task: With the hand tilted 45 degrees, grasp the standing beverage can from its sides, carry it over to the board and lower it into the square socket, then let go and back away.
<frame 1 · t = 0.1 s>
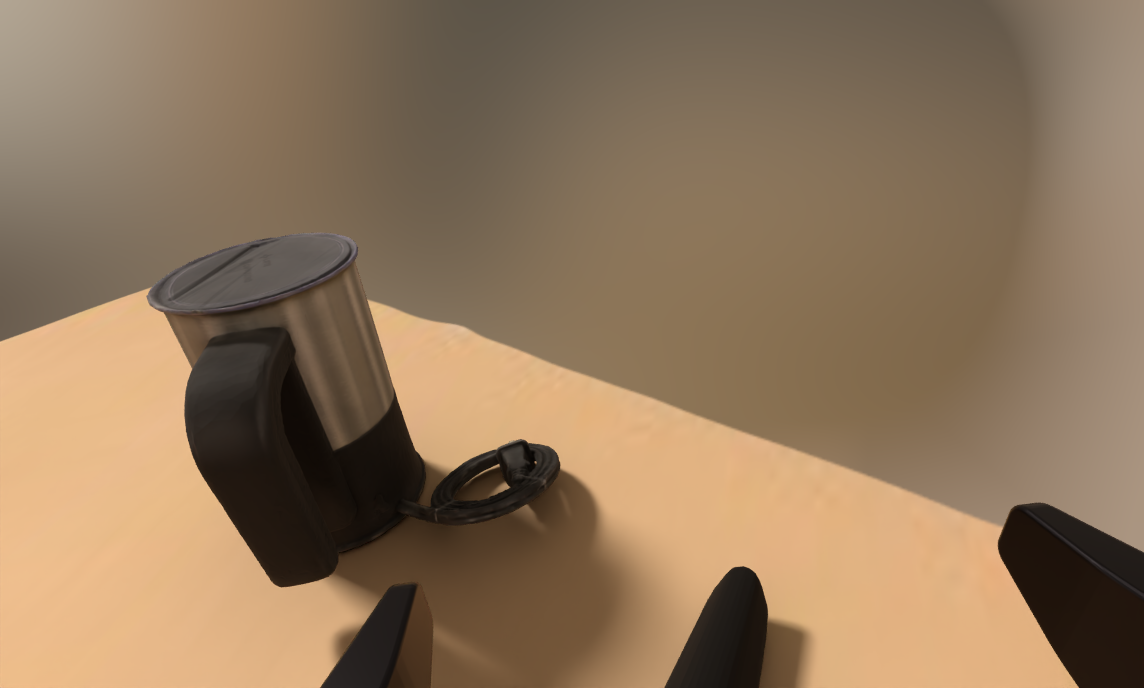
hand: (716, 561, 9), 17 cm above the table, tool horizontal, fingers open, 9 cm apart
milk frother: (414, 498, 34), on the table
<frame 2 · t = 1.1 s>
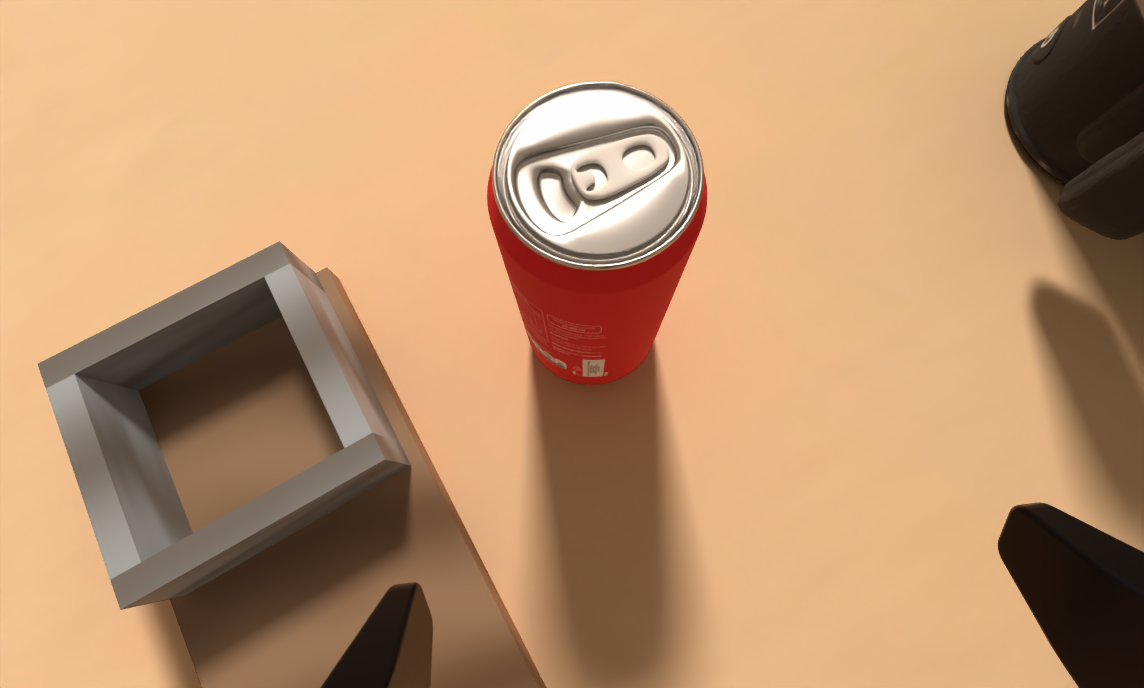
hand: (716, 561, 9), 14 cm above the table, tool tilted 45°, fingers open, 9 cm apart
beverage can: (590, 330, 25), on the table
socket board: (331, 563, 22), on the table
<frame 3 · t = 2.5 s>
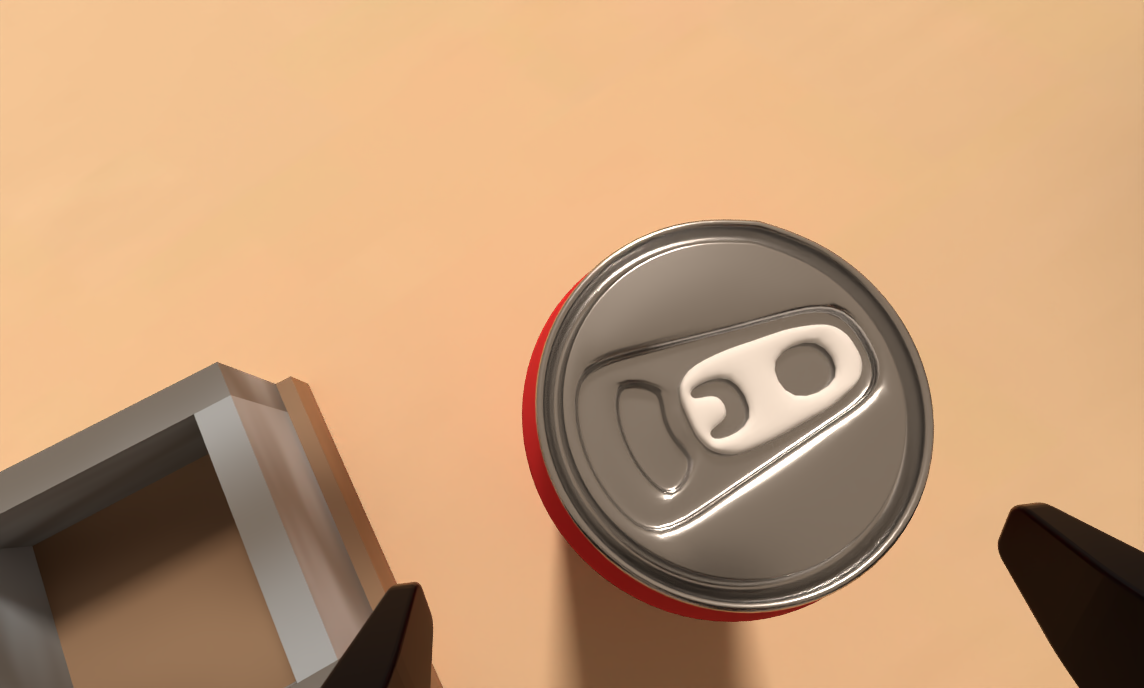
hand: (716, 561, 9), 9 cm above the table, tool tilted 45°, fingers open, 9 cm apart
beverage can: (638, 463, 19), on the table
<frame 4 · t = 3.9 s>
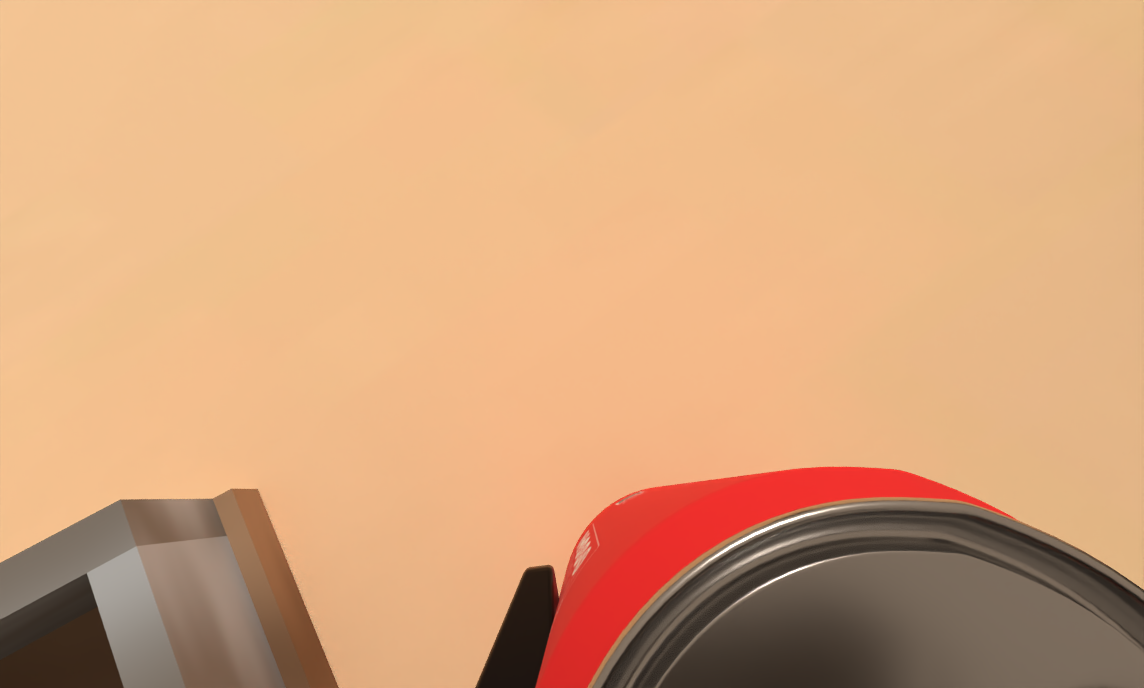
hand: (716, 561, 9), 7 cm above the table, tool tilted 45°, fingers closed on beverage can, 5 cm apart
beverage can: (665, 590, 15), on the table, touching gripper
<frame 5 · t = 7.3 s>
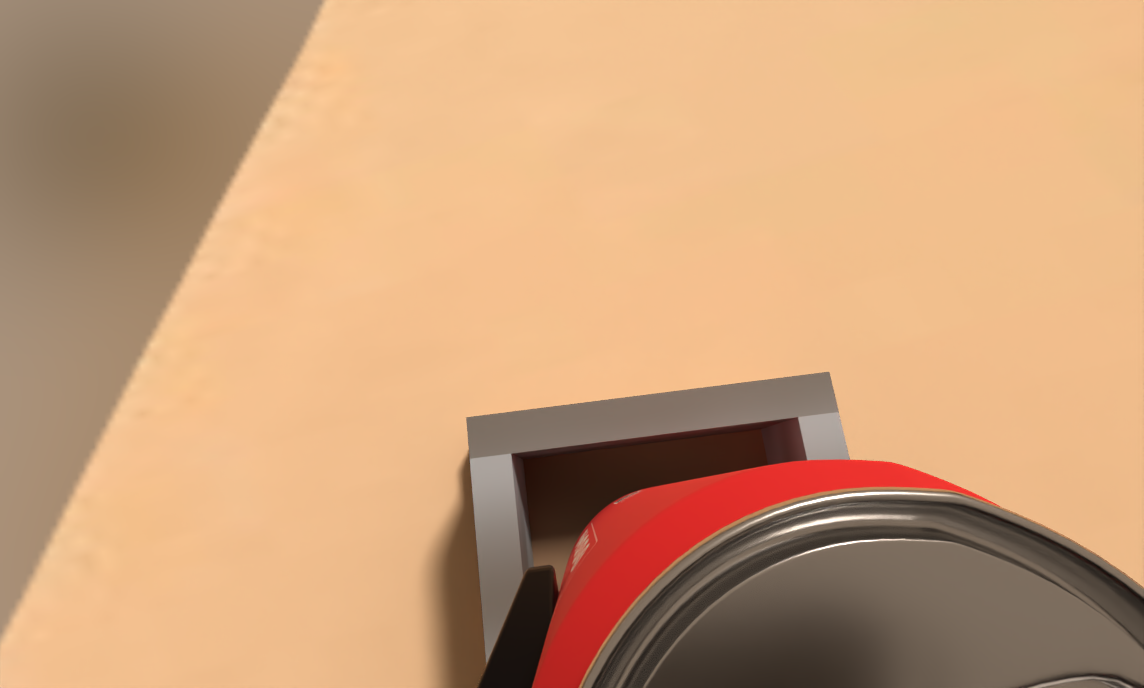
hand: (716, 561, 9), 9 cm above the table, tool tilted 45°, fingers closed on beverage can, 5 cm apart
beverage can: (664, 590, 15), point 2 cm above the table, touching gripper
when the fingers open (9 cm above the table, at t = 7.5 s): beverage can stays where it is, resting on socket board.
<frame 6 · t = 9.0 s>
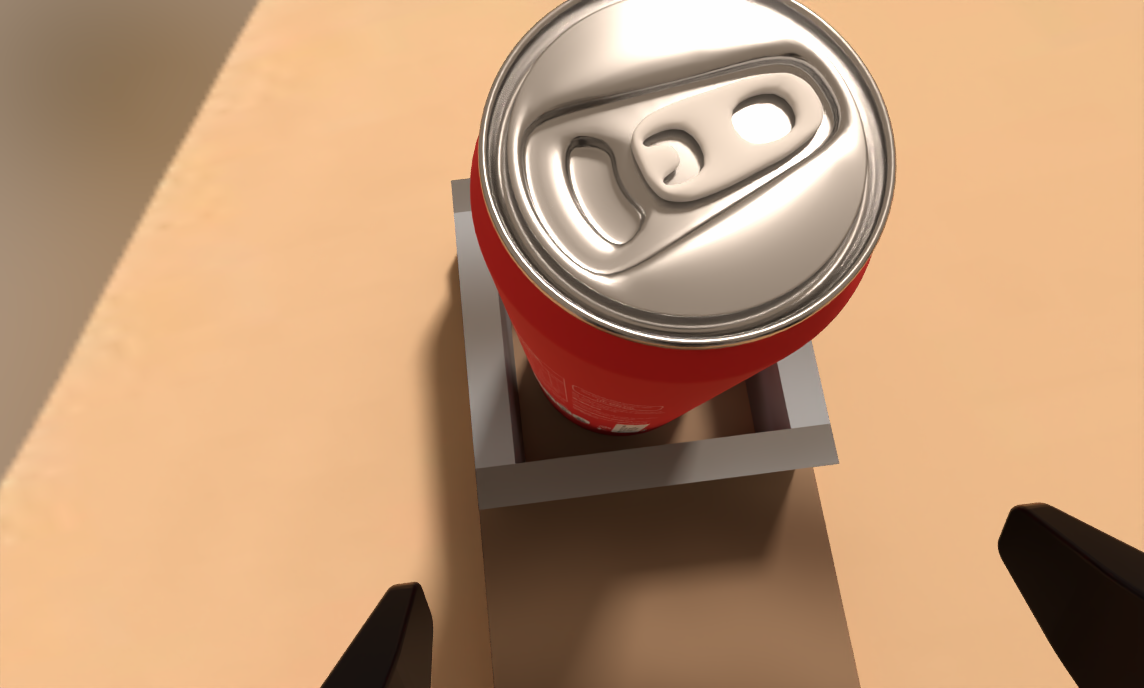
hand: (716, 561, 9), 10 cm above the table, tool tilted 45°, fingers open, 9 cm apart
beverage can: (616, 355, 18), point 1 cm above the table, touching socket board
socket board: (649, 535, 18), on the table
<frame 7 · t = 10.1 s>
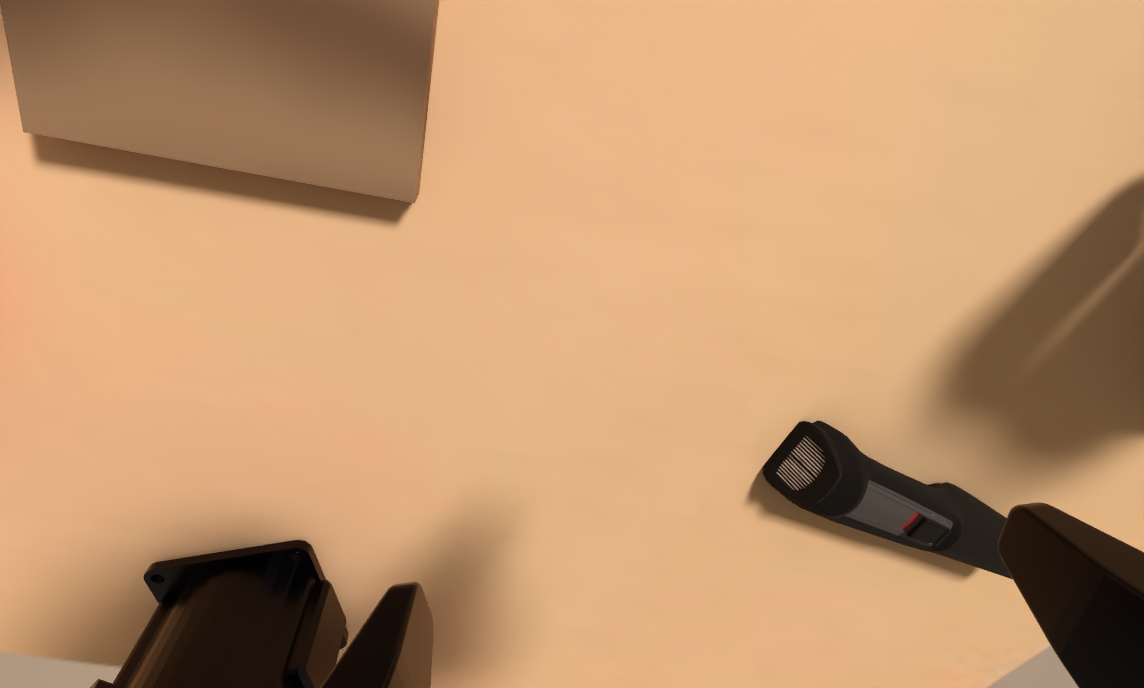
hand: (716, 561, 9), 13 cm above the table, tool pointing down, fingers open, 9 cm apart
electric trimmer: (896, 486, 28), on the table
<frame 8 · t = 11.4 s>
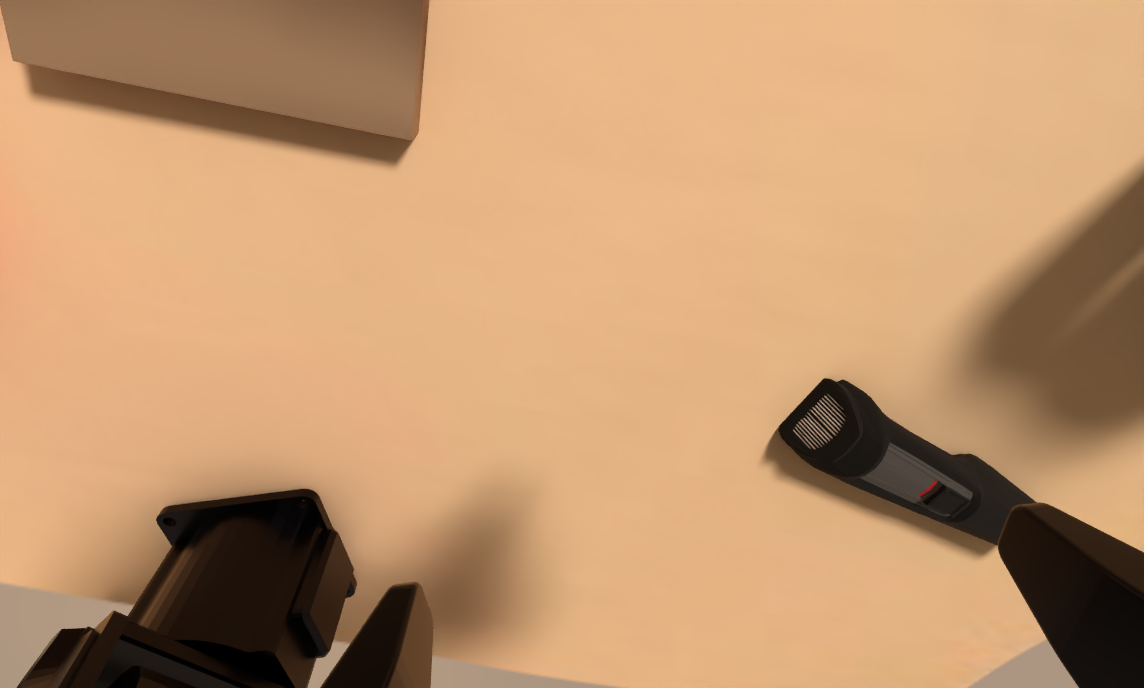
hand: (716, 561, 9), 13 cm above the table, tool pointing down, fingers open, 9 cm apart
electric trimmer: (915, 455, 27), on the table
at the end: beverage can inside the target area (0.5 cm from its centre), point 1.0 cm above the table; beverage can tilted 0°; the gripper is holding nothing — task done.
